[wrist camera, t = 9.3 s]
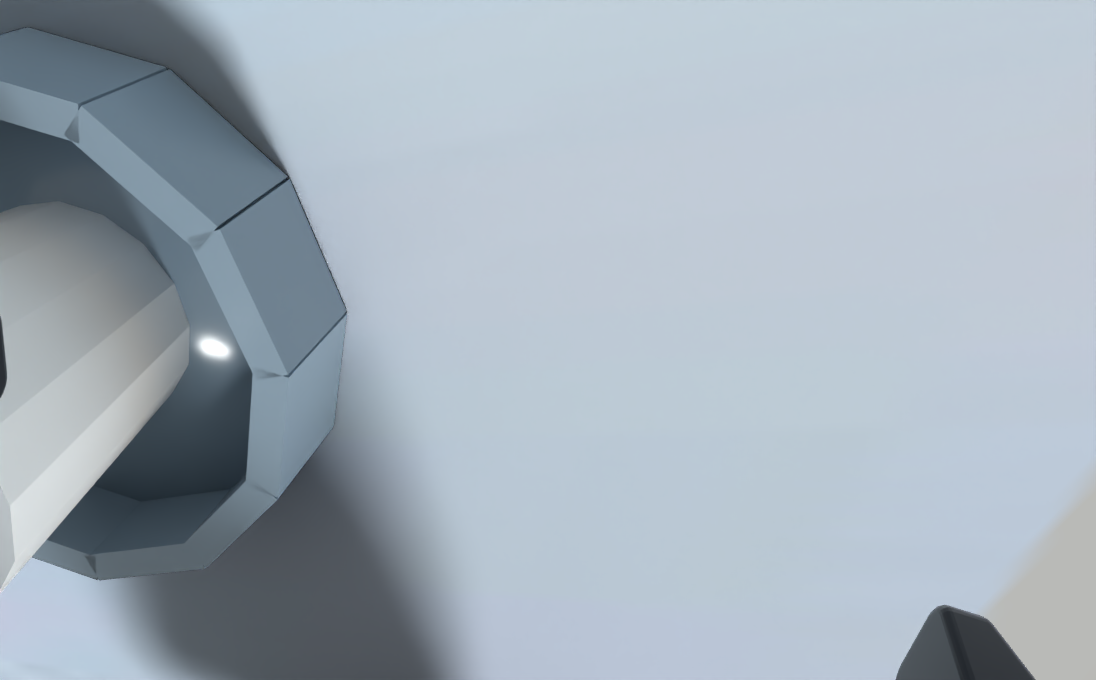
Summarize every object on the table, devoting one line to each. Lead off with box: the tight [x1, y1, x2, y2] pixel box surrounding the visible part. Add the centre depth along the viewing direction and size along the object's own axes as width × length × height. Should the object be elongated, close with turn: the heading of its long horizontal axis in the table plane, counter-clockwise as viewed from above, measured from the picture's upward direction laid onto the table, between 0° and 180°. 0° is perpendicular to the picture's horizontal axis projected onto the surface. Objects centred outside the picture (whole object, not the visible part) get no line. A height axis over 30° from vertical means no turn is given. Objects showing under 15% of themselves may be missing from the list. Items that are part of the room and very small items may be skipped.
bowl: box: [0, 27, 347, 580], centre depth 23 cm, size 13×13×3 cm
